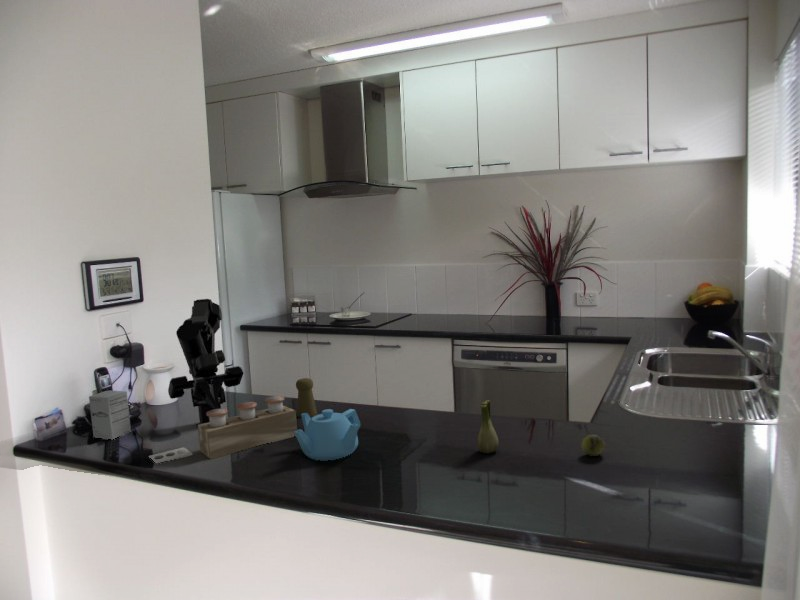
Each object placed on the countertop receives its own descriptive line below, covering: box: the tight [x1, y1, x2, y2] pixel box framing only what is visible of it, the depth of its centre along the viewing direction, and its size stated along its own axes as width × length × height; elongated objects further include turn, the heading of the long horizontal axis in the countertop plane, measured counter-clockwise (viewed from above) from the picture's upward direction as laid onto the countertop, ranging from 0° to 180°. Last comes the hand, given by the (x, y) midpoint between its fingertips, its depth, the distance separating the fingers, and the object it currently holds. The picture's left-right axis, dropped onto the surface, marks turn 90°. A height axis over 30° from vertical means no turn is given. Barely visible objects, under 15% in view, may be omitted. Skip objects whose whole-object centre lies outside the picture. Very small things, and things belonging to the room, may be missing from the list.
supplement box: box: [88, 390, 132, 441], centre depth 180 cm, size 7×7×13 cm
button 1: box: [206, 408, 228, 429], centre depth 160 cm, size 5×5×5 cm
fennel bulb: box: [477, 400, 500, 454], centre depth 147 cm, size 6×5×12 cm
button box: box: [197, 404, 298, 460], centre depth 165 cm, size 8×24×7 cm, turn 126°
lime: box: [580, 434, 606, 457], centre depth 140 cm, size 4×5×5 cm
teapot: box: [294, 408, 362, 462], centre depth 153 cm, size 15×15×11 cm
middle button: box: [236, 401, 258, 421], centre depth 164 cm, size 5×5×5 cm
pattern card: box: [148, 446, 193, 464], centre depth 159 cm, size 7×9×1 cm
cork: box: [295, 377, 318, 418], centre depth 189 cm, size 6×6×11 cm
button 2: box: [264, 395, 285, 415], centre depth 169 cm, size 5×5×5 cm
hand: (216, 408), depth 160 cm, fingers closed
